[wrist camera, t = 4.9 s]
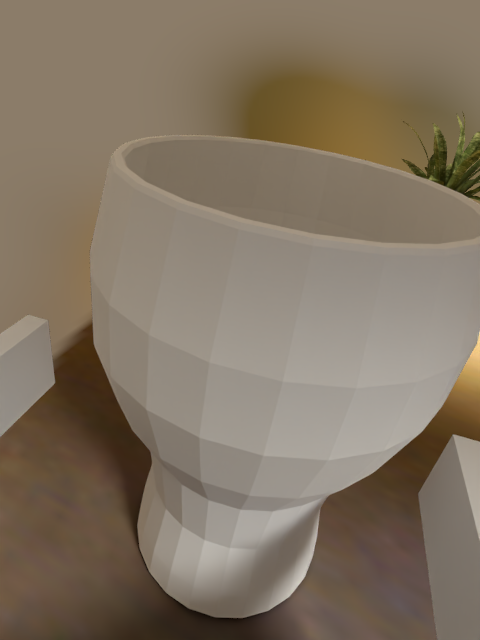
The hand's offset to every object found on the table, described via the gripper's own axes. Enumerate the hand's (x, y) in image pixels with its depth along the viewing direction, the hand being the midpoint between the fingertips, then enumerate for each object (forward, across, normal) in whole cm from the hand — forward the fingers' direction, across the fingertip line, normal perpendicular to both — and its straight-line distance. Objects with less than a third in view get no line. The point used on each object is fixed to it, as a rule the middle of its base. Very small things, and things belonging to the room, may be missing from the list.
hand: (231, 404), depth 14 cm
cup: (+1, +1, -8) cm, 8 cm away
